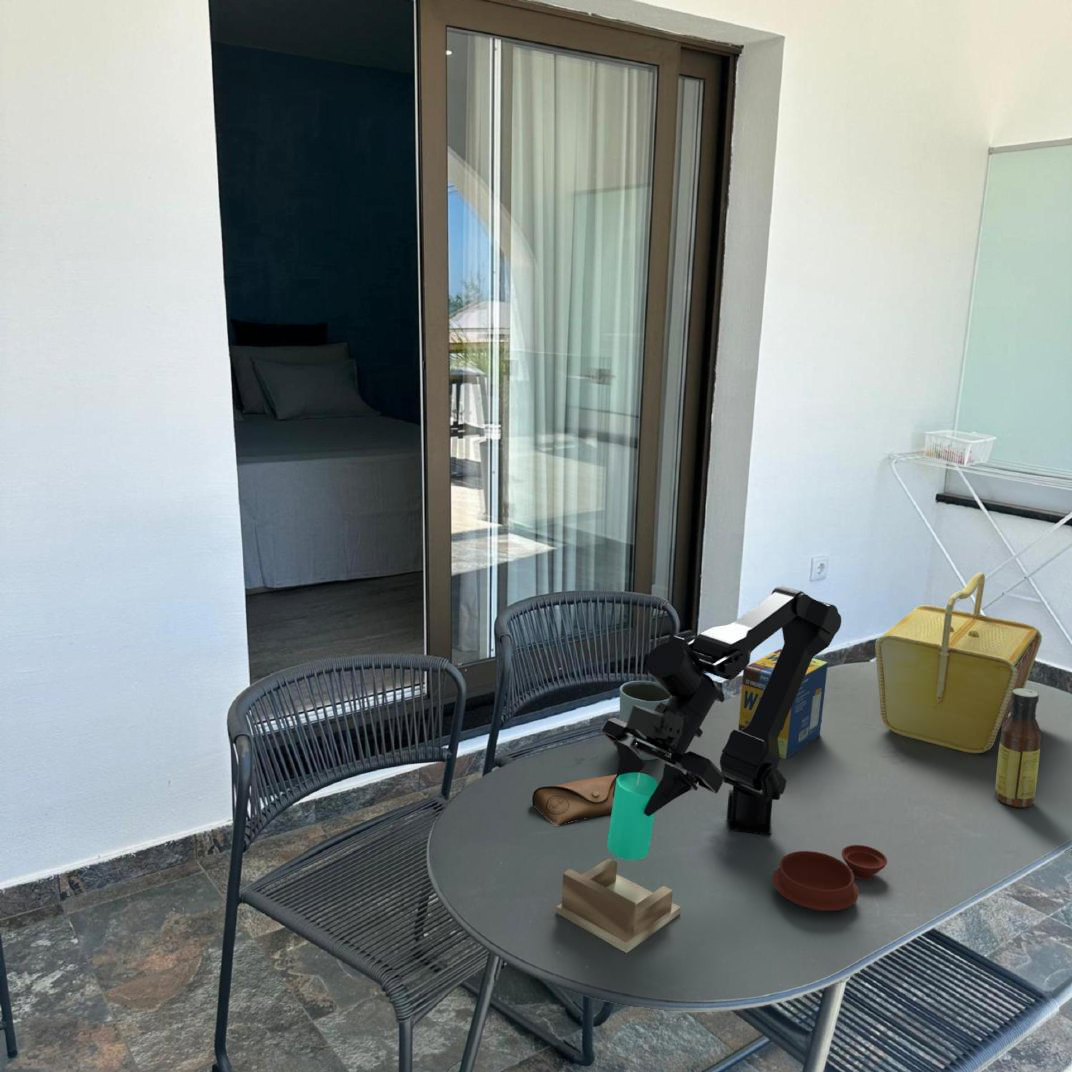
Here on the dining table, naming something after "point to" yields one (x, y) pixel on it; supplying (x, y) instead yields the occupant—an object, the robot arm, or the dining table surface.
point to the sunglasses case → (576, 799)
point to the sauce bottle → (1019, 751)
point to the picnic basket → (953, 672)
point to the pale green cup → (641, 701)
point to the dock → (614, 906)
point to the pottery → (826, 876)
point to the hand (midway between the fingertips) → (630, 806)
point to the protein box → (804, 709)
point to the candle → (631, 816)
